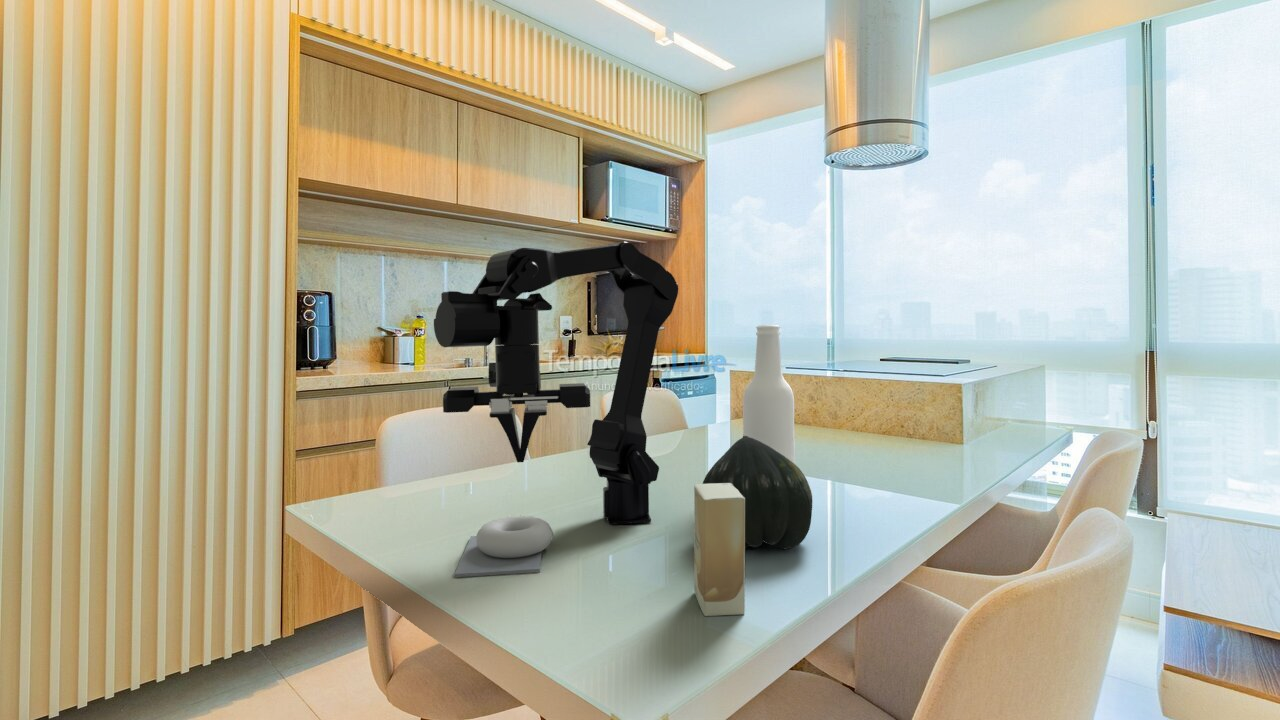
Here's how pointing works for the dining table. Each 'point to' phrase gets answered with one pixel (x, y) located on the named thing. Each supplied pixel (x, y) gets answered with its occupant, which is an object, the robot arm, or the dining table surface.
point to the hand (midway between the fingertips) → (520, 461)
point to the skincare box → (719, 549)
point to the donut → (514, 536)
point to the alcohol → (769, 397)
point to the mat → (494, 563)
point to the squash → (766, 493)
